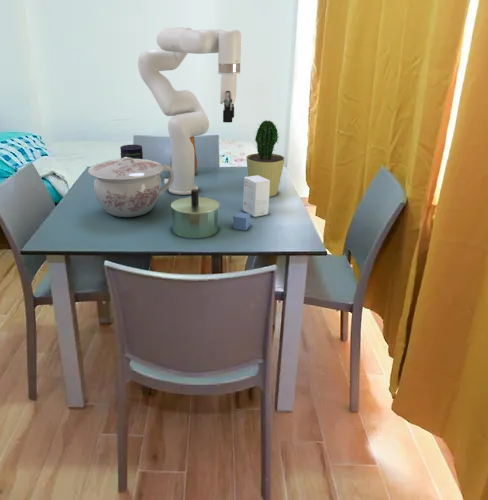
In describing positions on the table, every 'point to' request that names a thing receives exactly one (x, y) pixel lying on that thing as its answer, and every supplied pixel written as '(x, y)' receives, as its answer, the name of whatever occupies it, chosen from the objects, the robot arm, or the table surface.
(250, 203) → the small box
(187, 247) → the table surface
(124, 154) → the storage jar
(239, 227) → the blue cube
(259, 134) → the potted cactus
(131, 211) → the chamber pot
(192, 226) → the pot
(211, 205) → the lid
